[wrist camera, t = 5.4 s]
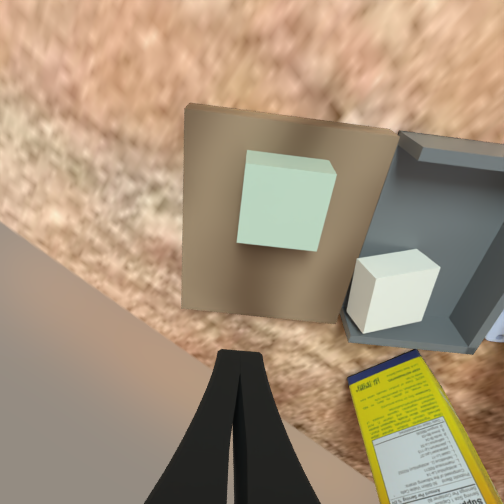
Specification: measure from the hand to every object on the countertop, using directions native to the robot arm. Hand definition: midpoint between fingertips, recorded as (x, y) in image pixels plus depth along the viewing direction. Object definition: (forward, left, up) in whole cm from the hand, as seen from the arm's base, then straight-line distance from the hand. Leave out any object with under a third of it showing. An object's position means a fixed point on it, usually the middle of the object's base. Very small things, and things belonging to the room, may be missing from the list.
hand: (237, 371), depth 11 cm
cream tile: (-9, +3, -10) cm, 13 cm away
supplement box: (-14, +13, -11) cm, 22 cm away
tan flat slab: (-2, 0, -11) cm, 11 cm away
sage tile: (-2, -3, -9) cm, 10 cm away
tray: (-11, 0, -11) cm, 15 cm away
